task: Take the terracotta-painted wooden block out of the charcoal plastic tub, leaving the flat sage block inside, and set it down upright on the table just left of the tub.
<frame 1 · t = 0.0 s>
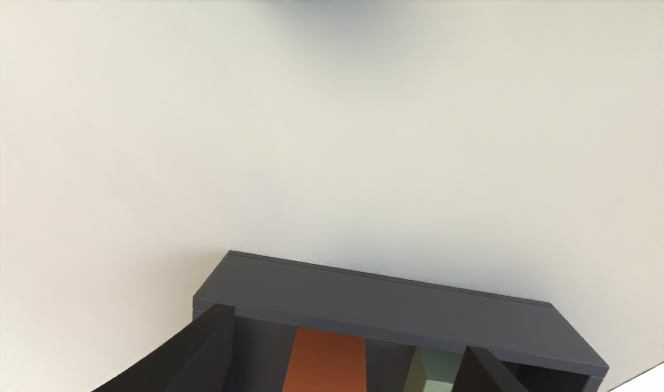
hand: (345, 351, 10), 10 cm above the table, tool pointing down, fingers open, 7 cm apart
sage block: (443, 376, 22), resting on tub
terracotta block: (326, 356, 22), resting on tub
tub: (369, 357, 23), on the table
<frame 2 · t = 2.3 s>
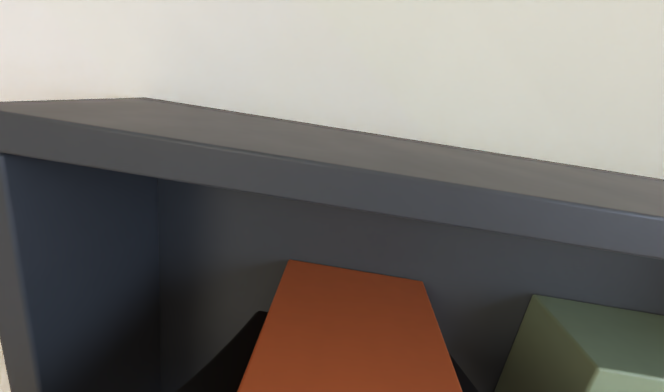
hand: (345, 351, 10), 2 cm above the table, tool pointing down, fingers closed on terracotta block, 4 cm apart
sage block: (578, 364, 11), resting on tub
terracotta block: (344, 325, 11), point 1 cm above the table, touching gripper, tub
tub: (429, 329, 12), on the table
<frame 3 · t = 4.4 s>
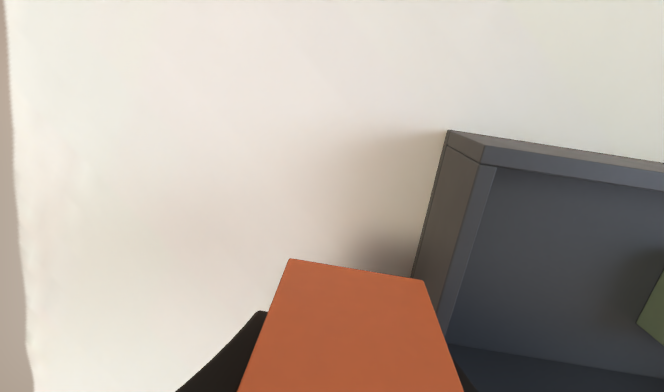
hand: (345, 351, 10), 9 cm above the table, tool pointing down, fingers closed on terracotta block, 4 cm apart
terracotta block: (345, 324, 11), point 8 cm above the table, touching gripper
tub: (599, 274, 18), on the table
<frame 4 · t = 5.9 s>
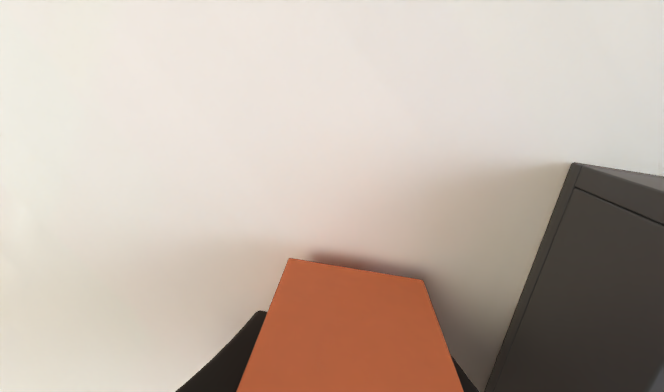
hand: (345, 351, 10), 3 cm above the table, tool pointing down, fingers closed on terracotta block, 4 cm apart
terracotta block: (345, 324, 11), point 2 cm above the table, touching gripper
when the fingers open (1 cm above the table, at t = 6.9 s): terracotta block stays where it is, on the table.
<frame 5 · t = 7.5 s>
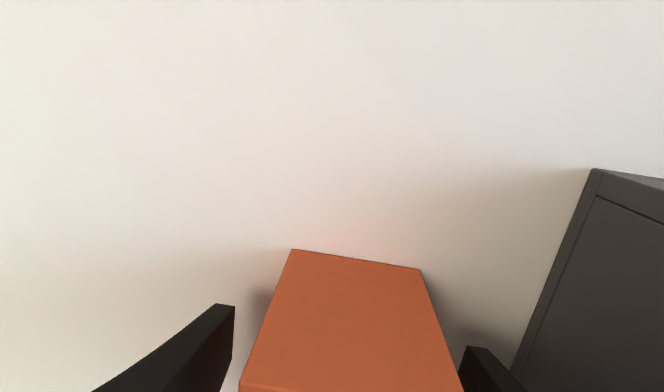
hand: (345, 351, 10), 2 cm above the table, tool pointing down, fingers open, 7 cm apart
terracotta block: (345, 312, 12), on the table
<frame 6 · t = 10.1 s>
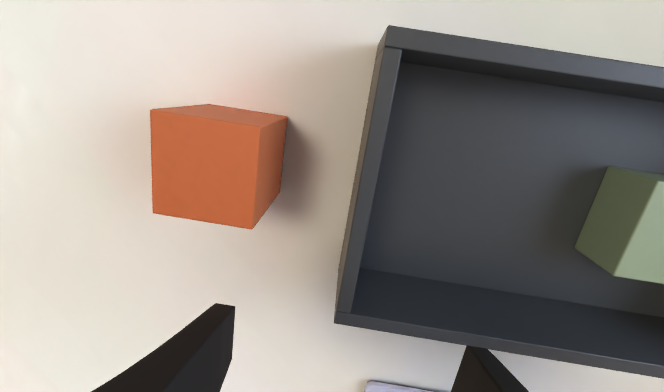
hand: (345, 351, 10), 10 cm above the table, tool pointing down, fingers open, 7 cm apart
sage block: (633, 215, 18), resting on tub
terracotta block: (245, 149, 19), on the table
tub: (536, 198, 18), on the table
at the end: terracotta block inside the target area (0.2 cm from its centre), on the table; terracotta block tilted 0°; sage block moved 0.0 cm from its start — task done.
